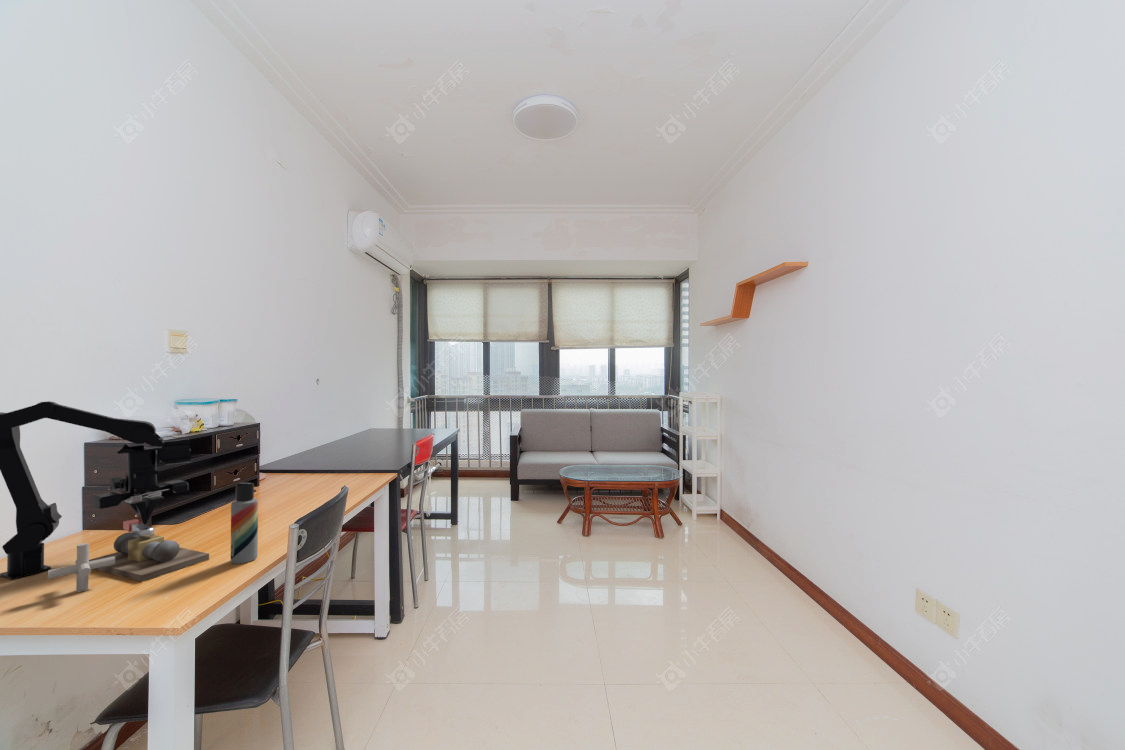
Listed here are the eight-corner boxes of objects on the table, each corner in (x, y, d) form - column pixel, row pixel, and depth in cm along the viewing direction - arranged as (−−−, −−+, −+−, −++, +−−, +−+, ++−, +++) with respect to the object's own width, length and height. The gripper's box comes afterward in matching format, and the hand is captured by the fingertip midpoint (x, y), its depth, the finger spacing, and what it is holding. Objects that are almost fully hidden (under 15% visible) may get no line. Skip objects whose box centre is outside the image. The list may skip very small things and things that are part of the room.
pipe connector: (111, 576, 105) (112, 533, 106) (117, 588, 99) (117, 542, 99) (46, 591, 98) (47, 545, 98) (48, 605, 91) (49, 556, 92)
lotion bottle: (225, 562, 113) (225, 483, 113) (247, 554, 118) (248, 479, 119) (240, 565, 111) (241, 485, 112) (262, 557, 116) (263, 480, 117)
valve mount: (85, 566, 111) (85, 540, 111) (153, 547, 124) (154, 524, 124) (141, 581, 102) (142, 553, 102) (209, 559, 115) (209, 534, 115)
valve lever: (156, 535, 114) (156, 527, 114) (140, 539, 112) (140, 531, 112) (137, 526, 122) (137, 518, 122) (122, 529, 120) (122, 521, 120)
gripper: (170, 459, 133) (171, 511, 134) (82, 472, 117) (83, 531, 117) (189, 461, 128) (190, 515, 128) (99, 476, 112) (101, 538, 112)
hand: (144, 524), depth 122 cm, fingers closed
